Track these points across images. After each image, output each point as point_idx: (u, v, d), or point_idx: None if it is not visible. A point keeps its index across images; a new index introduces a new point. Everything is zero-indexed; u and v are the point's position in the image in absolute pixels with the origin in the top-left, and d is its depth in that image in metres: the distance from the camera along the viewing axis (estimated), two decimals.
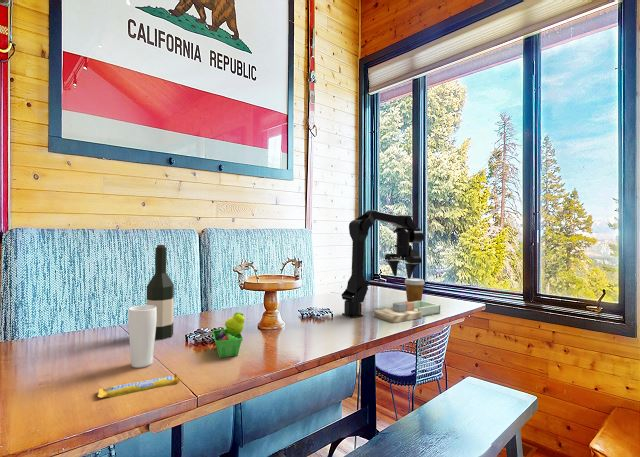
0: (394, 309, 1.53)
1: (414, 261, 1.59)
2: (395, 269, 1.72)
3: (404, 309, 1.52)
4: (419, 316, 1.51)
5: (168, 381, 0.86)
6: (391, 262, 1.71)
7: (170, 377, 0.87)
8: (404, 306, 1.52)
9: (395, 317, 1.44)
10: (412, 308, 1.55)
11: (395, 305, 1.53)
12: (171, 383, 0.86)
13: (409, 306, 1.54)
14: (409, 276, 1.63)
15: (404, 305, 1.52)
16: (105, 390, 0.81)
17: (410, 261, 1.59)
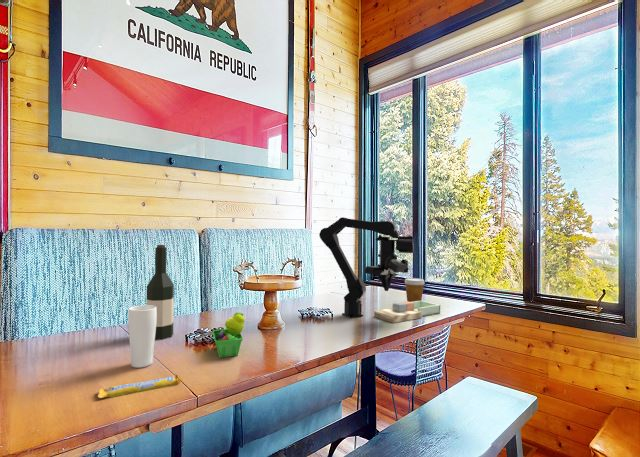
0: (394, 309, 1.53)
1: (366, 271, 1.46)
2: None
3: (404, 309, 1.52)
4: (419, 316, 1.51)
5: (169, 382, 0.85)
6: None
7: (171, 378, 0.87)
8: (404, 306, 1.52)
9: (395, 317, 1.44)
10: (412, 308, 1.55)
11: (395, 305, 1.53)
12: (172, 384, 0.85)
13: (409, 306, 1.54)
14: (384, 288, 1.50)
15: (404, 305, 1.52)
16: (106, 390, 0.81)
17: None
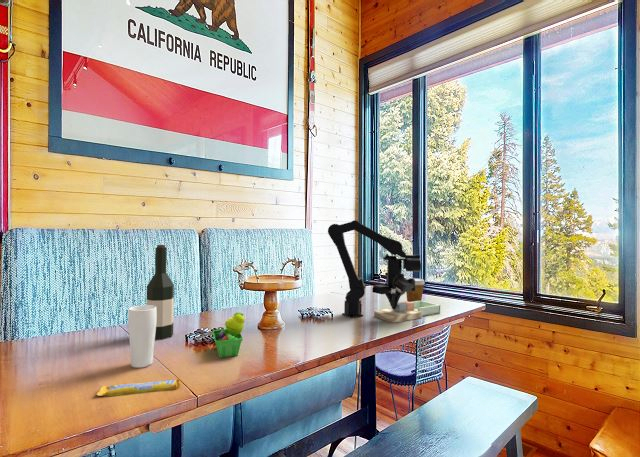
0: (394, 309, 1.53)
1: (373, 290, 1.48)
2: (395, 301, 1.52)
3: (404, 309, 1.52)
4: (419, 316, 1.51)
5: (167, 386, 0.83)
6: None
7: (171, 381, 0.85)
8: (404, 306, 1.52)
9: (395, 317, 1.44)
10: (412, 308, 1.55)
11: None
12: (170, 388, 0.83)
13: (409, 306, 1.54)
14: (392, 306, 1.52)
15: (404, 305, 1.52)
16: (108, 388, 0.82)
17: None
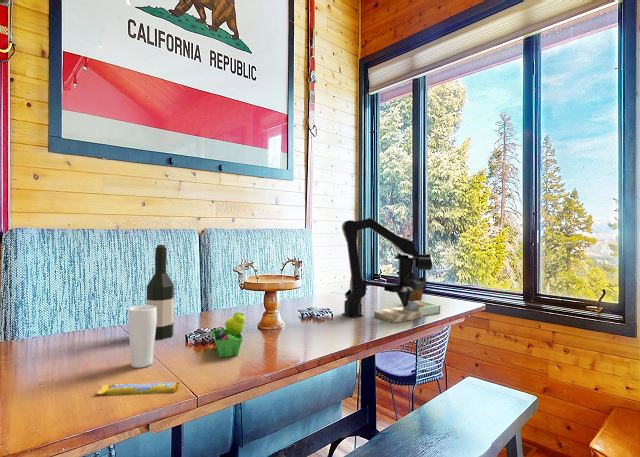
0: (404, 307, 1.56)
1: (385, 288, 1.52)
2: None
3: (414, 308, 1.55)
4: (419, 316, 1.51)
5: (165, 388, 0.82)
6: None
7: (170, 384, 0.83)
8: (414, 305, 1.56)
9: (395, 317, 1.44)
10: None
11: None
12: (168, 391, 0.82)
13: (422, 306, 1.58)
14: (403, 304, 1.55)
15: (415, 304, 1.56)
16: (109, 387, 0.83)
17: None
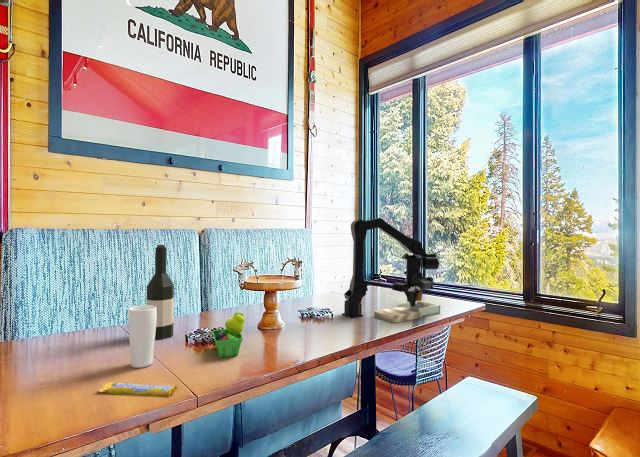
0: None
1: (393, 288, 1.54)
2: None
3: None
4: (419, 316, 1.51)
5: (161, 391, 0.80)
6: None
7: (167, 387, 0.82)
8: None
9: (395, 317, 1.44)
10: None
11: None
12: (163, 394, 0.80)
13: (426, 305, 1.59)
14: (410, 303, 1.57)
15: (421, 306, 1.58)
16: (112, 385, 0.84)
17: None
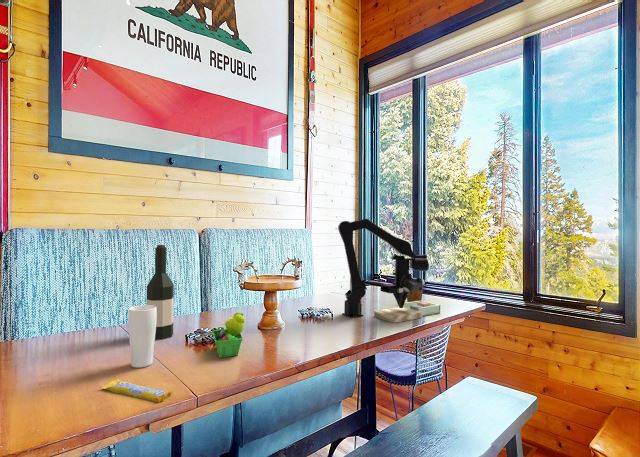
0: None
1: (381, 289, 1.51)
2: None
3: None
4: (419, 316, 1.51)
5: (153, 396, 0.78)
6: None
7: (159, 392, 0.79)
8: None
9: (395, 317, 1.44)
10: None
11: (413, 307, 1.58)
12: (154, 399, 0.78)
13: (426, 306, 1.59)
14: (399, 305, 1.54)
15: None
16: (118, 383, 0.85)
17: None
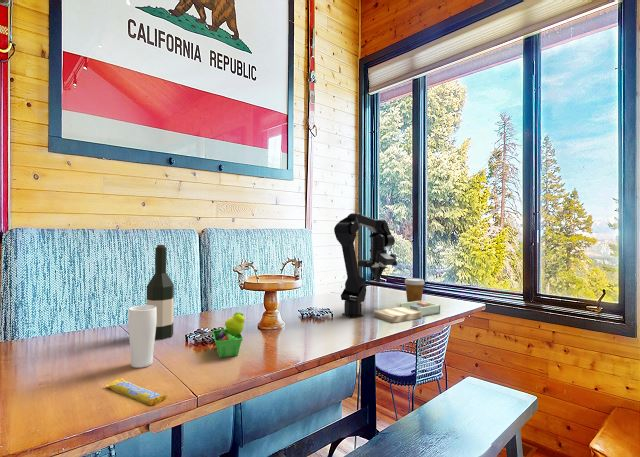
0: None
1: (359, 264, 1.65)
2: None
3: None
4: (419, 316, 1.51)
5: (146, 398, 0.77)
6: None
7: (153, 395, 0.78)
8: None
9: (395, 317, 1.44)
10: None
11: (413, 307, 1.58)
12: (147, 402, 0.77)
13: (426, 306, 1.59)
14: (375, 279, 1.68)
15: None
16: (121, 382, 0.85)
17: None
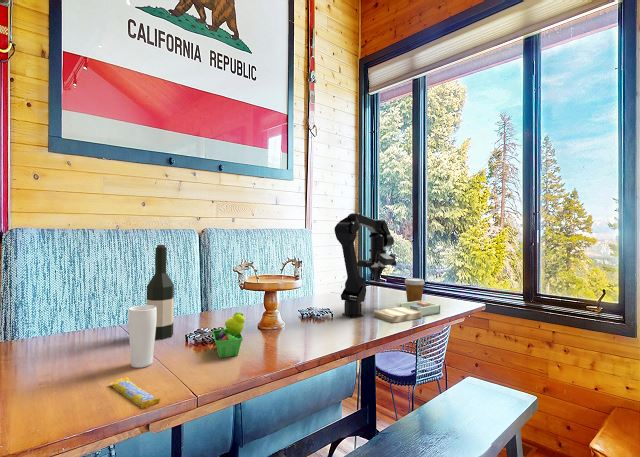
0: None
1: (358, 264, 1.65)
2: (378, 274, 1.68)
3: None
4: (419, 316, 1.51)
5: (139, 401, 0.76)
6: None
7: (147, 398, 0.77)
8: None
9: (395, 317, 1.44)
10: None
11: (413, 307, 1.58)
12: (139, 405, 0.76)
13: (426, 306, 1.59)
14: (375, 279, 1.68)
15: None
16: (125, 381, 0.86)
17: None
